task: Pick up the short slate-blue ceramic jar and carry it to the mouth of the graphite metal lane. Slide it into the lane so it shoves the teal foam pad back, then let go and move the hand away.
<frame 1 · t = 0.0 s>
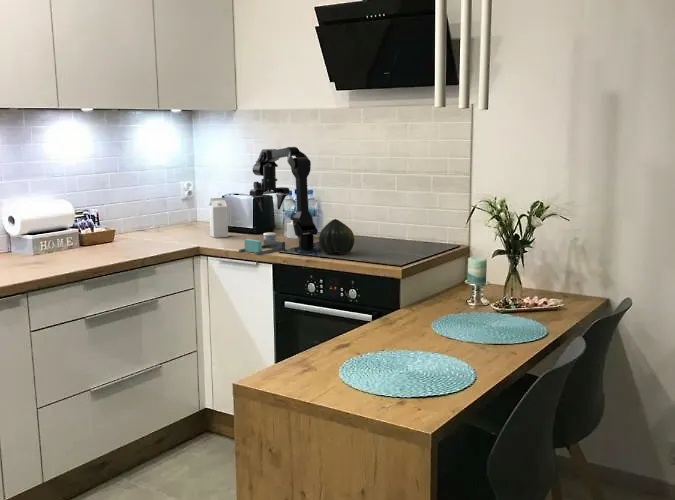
hand: (270, 210, 343), 15 cm above the countertop, fingers open, 9 cm apart
milk carton: (219, 237, 362), on the countertop
jar: (270, 245, 335), on the countertop
squash: (336, 253, 313), on the countertop
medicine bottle: (297, 238, 357), on the countertop
teal foam pad: (253, 246, 316), point 3 cm above the countertop, slide at 0.0 cm
lane: (263, 250, 321), on the countertop
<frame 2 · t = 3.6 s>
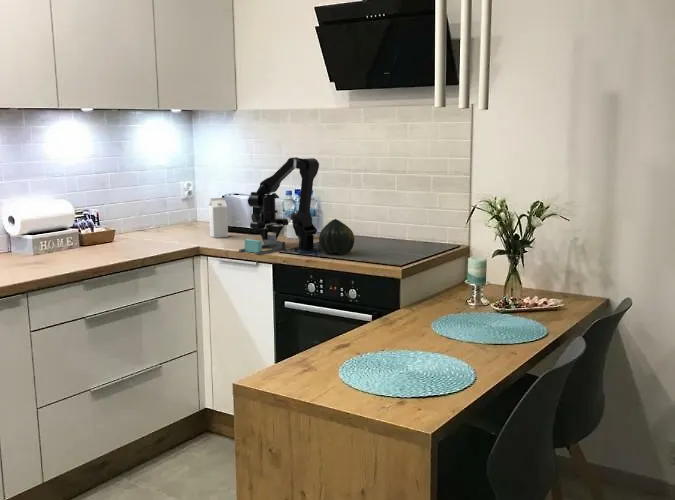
hand: (269, 242, 335), 1 cm above the countertop, fingers closed on jar, 6 cm apart
jar: (270, 245, 335), on the countertop, touching gripper
everything else where it was.
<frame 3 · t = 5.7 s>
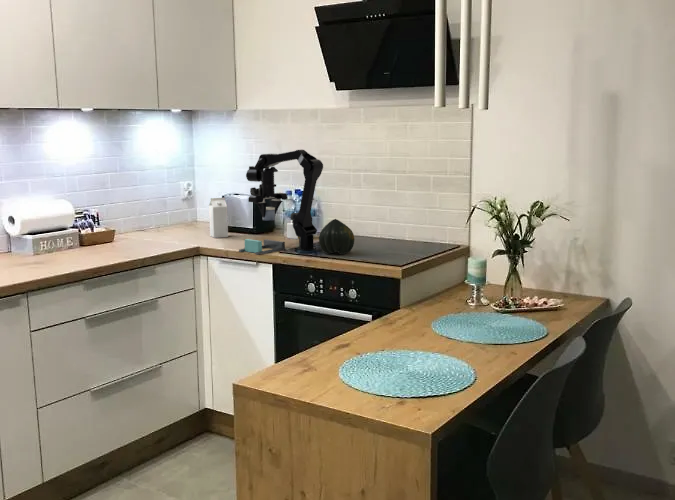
hand: (268, 216, 333), 13 cm above the countertop, fingers closed on jar, 6 cm apart
jar: (268, 219, 333), point 12 cm above the countertop, touching gripper
everything else where it was.
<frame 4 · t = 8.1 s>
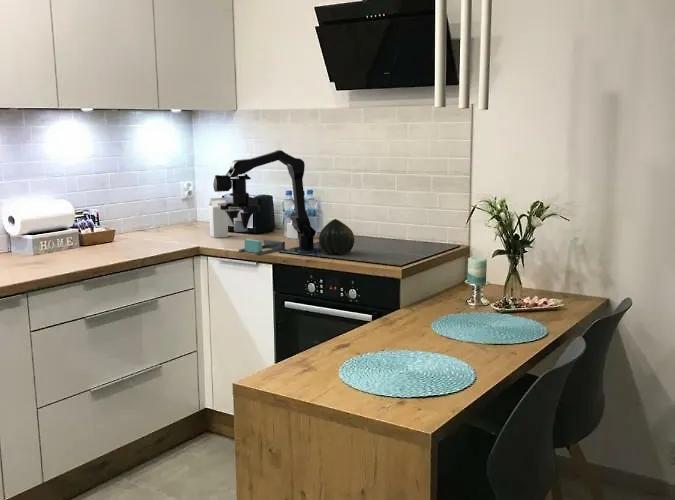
hand: (240, 227, 310), 11 cm above the countertop, fingers closed on jar, 6 cm apart
jar: (240, 230, 310), point 10 cm above the countertop, touching gripper
everything else where it was.
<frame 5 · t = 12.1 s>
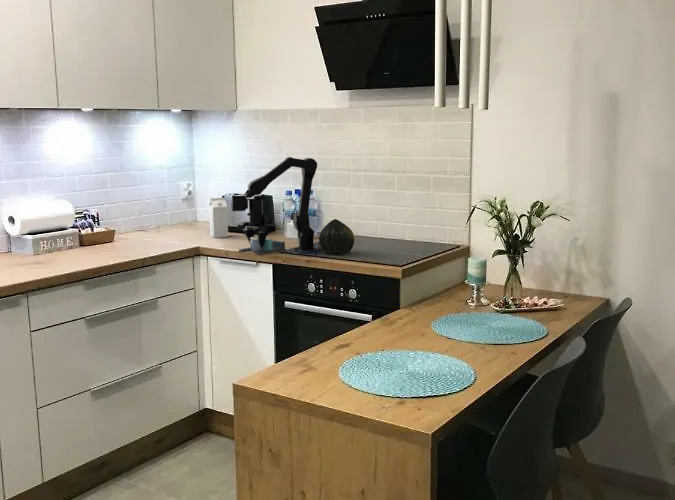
hand: (257, 246, 318), 2 cm above the countertop, fingers closed on jar, 6 cm apart
jar: (257, 249, 318), point 1 cm above the countertop, touching gripper, teal foam pad
teal foam pad: (263, 244, 321), point 3 cm above the countertop, slide at 6.0 cm, touching jar
everything else where it was.
when the fingers open (2 cm above the countertop, at t = 13.0 s): jar stays where it is, resting on teal foam pad.
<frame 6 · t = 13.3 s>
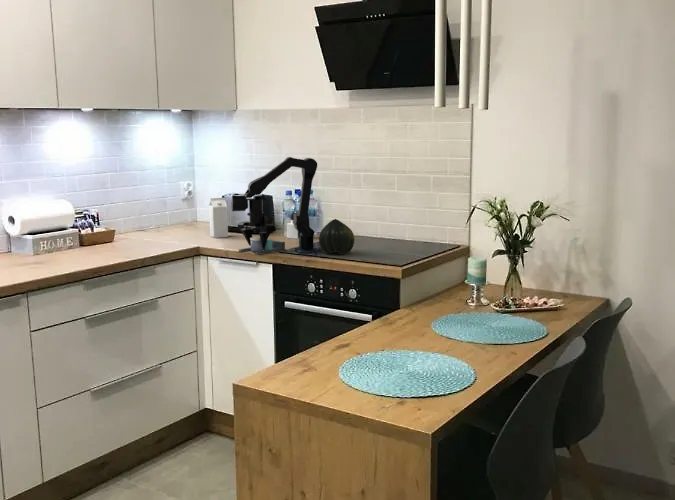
hand: (257, 246, 318), 2 cm above the countertop, fingers open, 8 cm apart
jar: (257, 250, 318), point 1 cm above the countertop, touching teal foam pad
everything else where it was.
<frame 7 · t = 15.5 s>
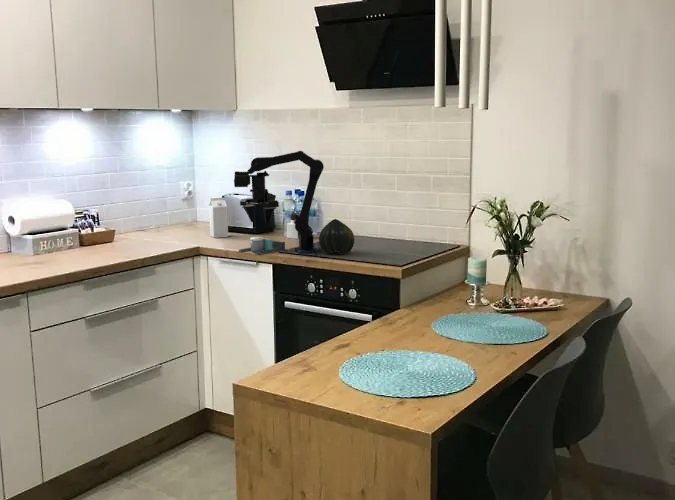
hand: (259, 222, 321), 12 cm above the countertop, fingers open, 9 cm apart
nothing on the countertop moved.
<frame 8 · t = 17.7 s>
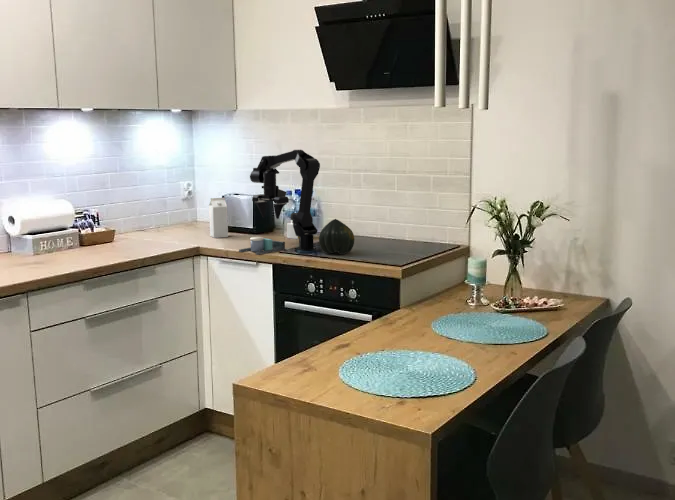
hand: (270, 218, 336), 12 cm above the countertop, fingers open, 9 cm apart
nothing on the countertop moved.
at the end: jar 0.2 cm from the target spot on the lane, point 0.6 cm above the lane's base; teal foam pad slide at 6.0 cm; jar tilted 0° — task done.
